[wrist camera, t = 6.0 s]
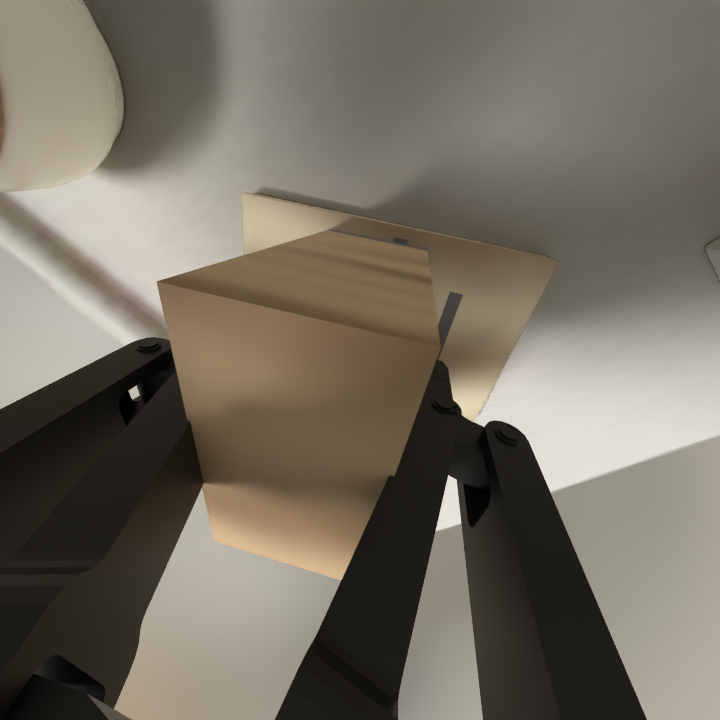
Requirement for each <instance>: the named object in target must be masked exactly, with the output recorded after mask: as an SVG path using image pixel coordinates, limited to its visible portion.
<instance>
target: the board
mask: <svg viewBox="0 0 720 720" xmlns="http://www.w3.org/2000/svg"><path fill="white" fill-rule="evenodd" d="M242 216H243V239H244V255H246V254H249V253H253V252H256V251H259V250H263V249H266V248H269V247H273V246H276V245H279V244H282V243H286V242H289V241H292V240H296V239H299V238H302V237H306V236H309V235H312V234H315V233H319V232H322V231H325V230H329V229H334V230H339V231H344V232H349V233H354V234H359V235H364V236H368V237H373V238H378V239H383V240H388V241H393V242H398V243H403V244H408V245H412V246H417V247H422V248H427V251H428V258H429V265H430V273H431V280H432V287H433V294H434V302H435V309H436V316H437V323H438V331H439V338H440V345H441V348H440V351H439V354H438V357H437V360H439V361H443V362H444V364H445V365H446V366H447V368H448V371H449V377H450V383H451V390H452V396H453V400H454V401H455V402H456V403H457V404H458V405H459V406H460V408H461V410H462V415H463V416H464V417H465V418H467V419H468V420H470V421H472V422H474V421H475V419H476V417H477V415H478V413H479V411H480V409H481V408H482V406H483V404H484V402H485V400H486V398H487V396H488V394H489V393H490V391H491V389H492V387H493V385H494V383H495V381H496V380H497V378H498V376H499V374H500V372H501V370H502V368H503V366H504V365H505V363H506V361H507V359H508V357H509V355H510V353H511V351H512V350H513V348H514V346H515V344H516V342H517V340H518V338H519V336H520V335H521V333H522V331H523V329H524V327H525V325H526V323H527V321H528V320H529V318H530V316H531V314H532V312H533V310H534V308H535V307H536V305H537V303H538V301H539V299H540V297H541V295H542V293H543V292H544V290H545V288H546V286H547V284H548V282H549V280H550V278H551V277H552V275H553V273H554V271H555V269H556V267H557V265H558V263H559V262H560V261H558V260H556V259H554V258H551V257H548V256H544V255H539V254H534V253H530V252H525V251H520V250H516V249H511V248H506V247H502V246H497V245H492V244H488V243H483V242H478V241H474V240H469V239H464V238H459V237H455V236H450V235H445V234H441V233H436V232H431V231H427V230H422V229H417V228H413V227H408V226H403V225H399V224H394V223H389V222H385V221H380V220H375V219H371V218H366V217H361V216H357V215H352V214H347V213H343V212H338V211H333V210H329V209H324V208H319V207H315V206H310V205H305V204H300V203H296V202H291V201H286V200H282V199H277V198H272V197H268V196H263V195H258V194H254V193H242Z"/></svg>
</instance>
